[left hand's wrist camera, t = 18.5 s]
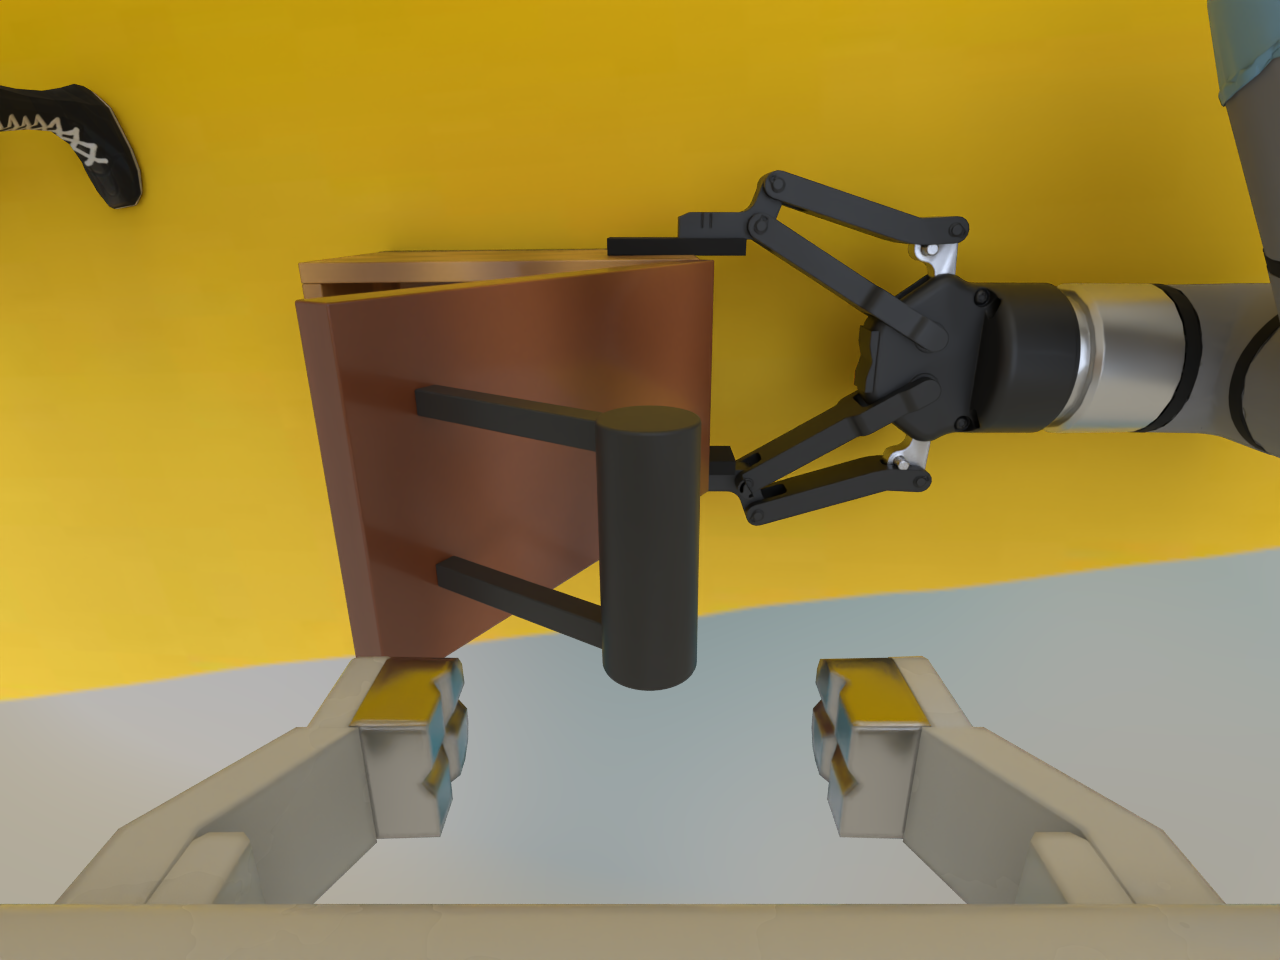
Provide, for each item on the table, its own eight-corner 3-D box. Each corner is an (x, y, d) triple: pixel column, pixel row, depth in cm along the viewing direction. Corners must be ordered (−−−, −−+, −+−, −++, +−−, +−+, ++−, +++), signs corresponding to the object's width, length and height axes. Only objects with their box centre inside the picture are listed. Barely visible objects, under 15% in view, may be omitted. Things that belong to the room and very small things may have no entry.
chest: (407, 422, 45) (334, 486, 34) (386, 251, 41) (297, 262, 31) (683, 420, 45) (696, 483, 34) (685, 247, 41) (700, 258, 30)
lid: (358, 678, 20) (632, 822, 15) (293, 299, 16) (623, 329, 11) (684, 486, 34) (881, 528, 29) (687, 259, 30) (912, 265, 25)
